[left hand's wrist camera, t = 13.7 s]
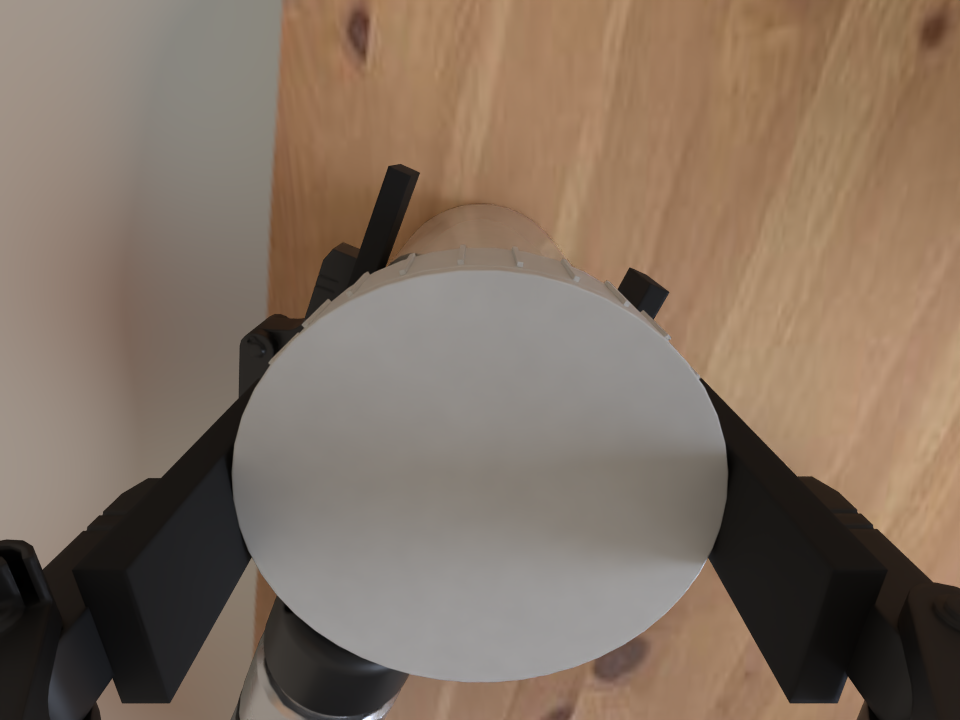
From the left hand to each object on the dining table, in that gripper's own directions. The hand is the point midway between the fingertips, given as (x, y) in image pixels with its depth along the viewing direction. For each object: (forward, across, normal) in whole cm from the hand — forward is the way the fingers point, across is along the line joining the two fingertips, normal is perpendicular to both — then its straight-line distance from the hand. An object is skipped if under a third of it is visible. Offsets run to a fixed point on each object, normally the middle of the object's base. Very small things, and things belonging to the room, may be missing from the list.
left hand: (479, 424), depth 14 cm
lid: (-3, 0, 0) cm, 3 cm away
